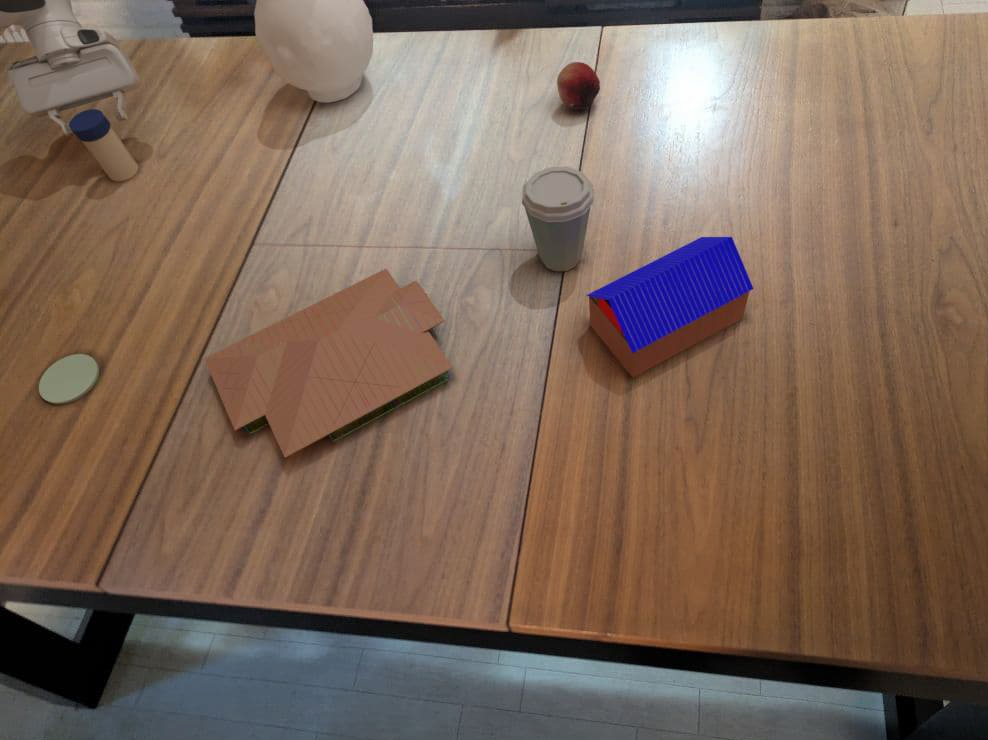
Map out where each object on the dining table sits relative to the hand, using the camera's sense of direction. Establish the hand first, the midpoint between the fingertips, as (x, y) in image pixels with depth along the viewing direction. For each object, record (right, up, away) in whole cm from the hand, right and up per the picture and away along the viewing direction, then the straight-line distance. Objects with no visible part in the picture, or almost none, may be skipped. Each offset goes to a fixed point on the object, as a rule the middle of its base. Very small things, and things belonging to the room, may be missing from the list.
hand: (97, 127), depth 129 cm
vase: (+40, +13, +14) cm, 44 cm away
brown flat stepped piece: (+52, -46, -24) cm, 73 cm away
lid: (+1, 0, -4) cm, 4 cm away
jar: (+2, -6, +6) cm, 9 cm away
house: (+100, -39, -24) cm, 110 cm away
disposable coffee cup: (+85, -27, -16) cm, 91 cm away
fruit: (+89, +5, +4) cm, 89 cm away
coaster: (+8, -47, -20) cm, 52 cm away
